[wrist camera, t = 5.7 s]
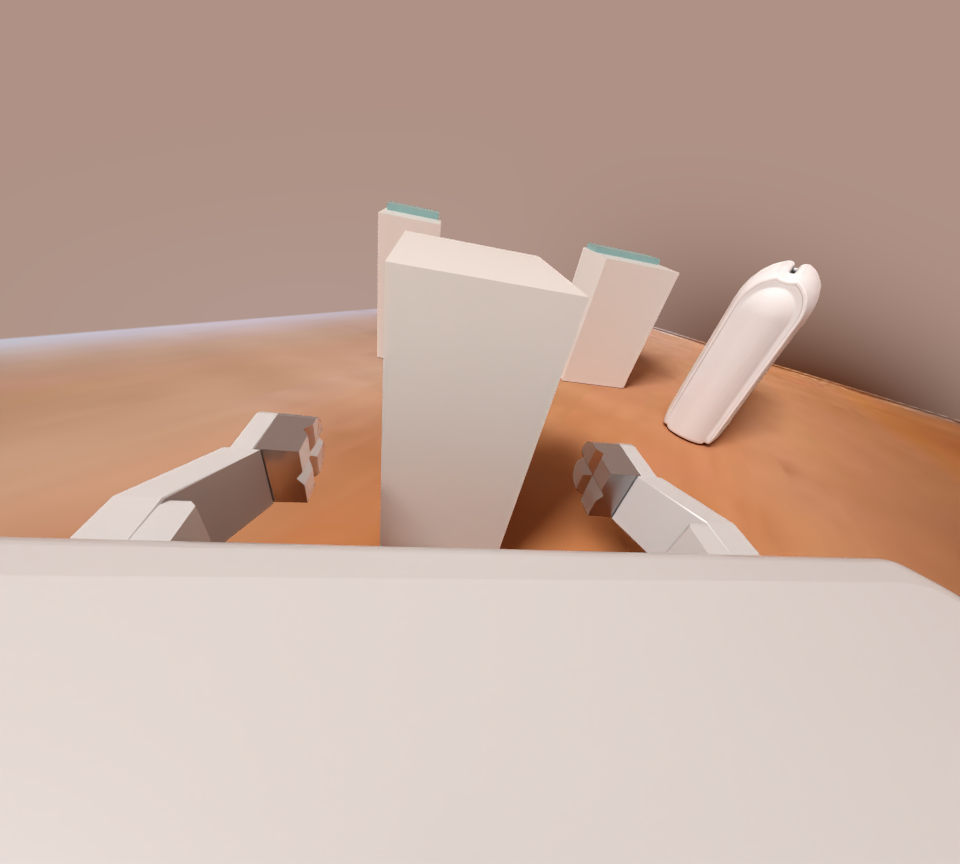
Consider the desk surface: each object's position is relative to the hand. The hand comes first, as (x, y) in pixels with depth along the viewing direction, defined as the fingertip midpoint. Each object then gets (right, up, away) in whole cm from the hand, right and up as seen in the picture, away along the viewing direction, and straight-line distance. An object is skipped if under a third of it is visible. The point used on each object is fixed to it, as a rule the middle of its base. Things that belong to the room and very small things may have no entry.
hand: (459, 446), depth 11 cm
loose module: (-1, -4, +5) cm, 6 cm away
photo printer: (+19, +1, +19) cm, 27 cm away
